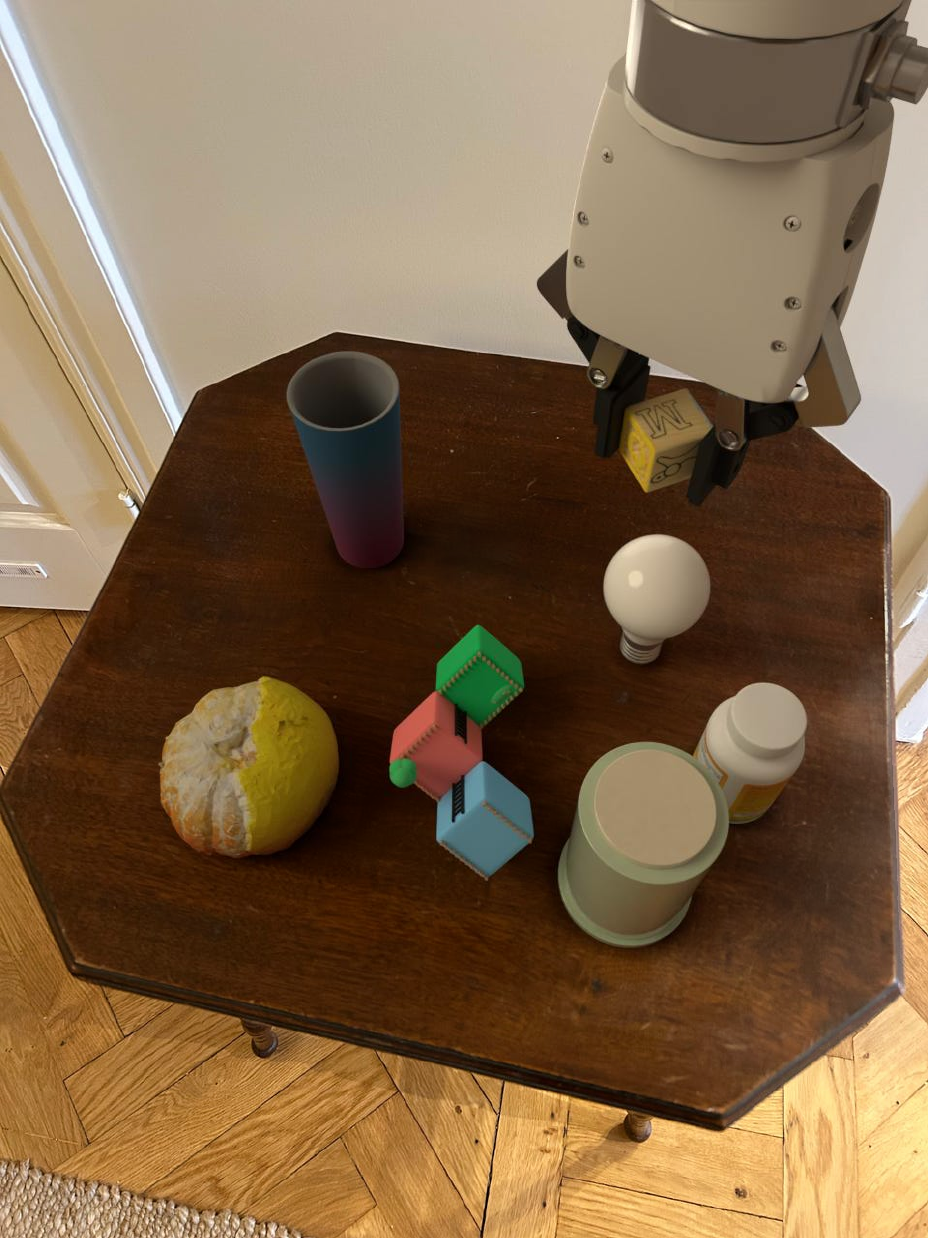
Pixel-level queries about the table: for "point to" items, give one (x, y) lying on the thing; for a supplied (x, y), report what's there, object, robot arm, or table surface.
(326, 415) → the cup
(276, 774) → the fruit
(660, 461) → the alphabet block
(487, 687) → the building blocks
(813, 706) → the table surface
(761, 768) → the supplement bottle
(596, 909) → the upturned tumbler
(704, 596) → the lightbulb
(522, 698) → the table surface
